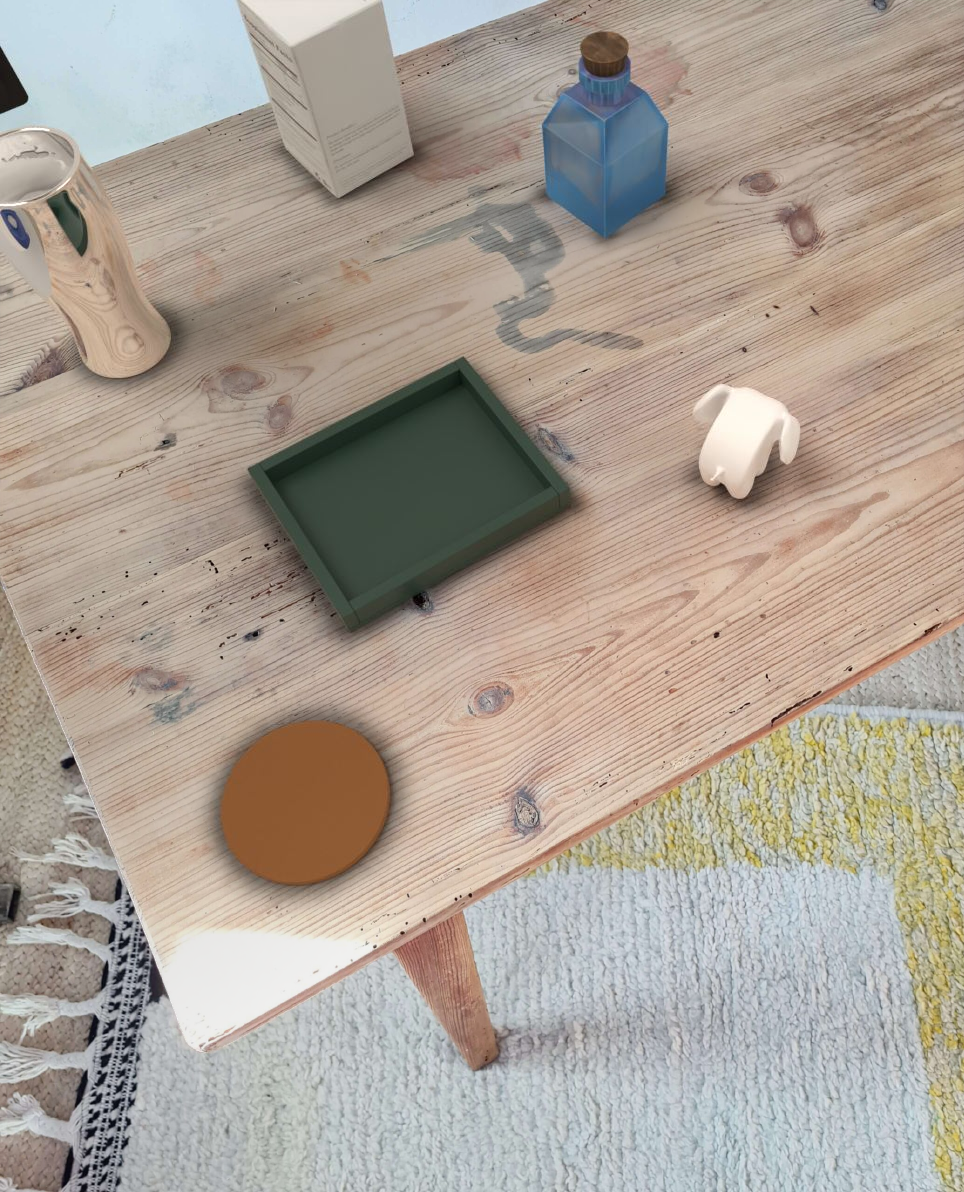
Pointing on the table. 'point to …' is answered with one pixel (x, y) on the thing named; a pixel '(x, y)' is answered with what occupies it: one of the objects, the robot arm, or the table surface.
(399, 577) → the tray
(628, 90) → the perfume bottle
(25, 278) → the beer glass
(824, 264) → the table surface
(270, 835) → the coaster
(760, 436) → the elephant figurine
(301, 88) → the white packaging box
